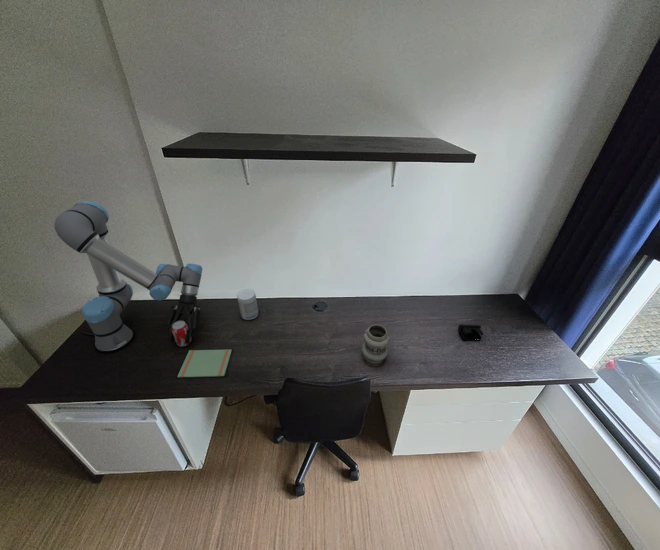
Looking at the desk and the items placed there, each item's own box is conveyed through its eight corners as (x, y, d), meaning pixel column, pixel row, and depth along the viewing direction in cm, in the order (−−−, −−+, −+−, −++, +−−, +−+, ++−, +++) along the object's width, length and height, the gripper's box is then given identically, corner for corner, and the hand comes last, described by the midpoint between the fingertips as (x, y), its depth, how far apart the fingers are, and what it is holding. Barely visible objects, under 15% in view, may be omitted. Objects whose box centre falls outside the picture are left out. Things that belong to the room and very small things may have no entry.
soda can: (188, 348, 140) (182, 330, 133) (174, 347, 140) (167, 329, 133) (194, 337, 146) (189, 319, 139) (180, 337, 146) (174, 319, 139)
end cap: (474, 331, 156) (478, 322, 152) (480, 341, 150) (484, 331, 146) (456, 331, 155) (459, 321, 152) (461, 341, 150) (465, 331, 146)
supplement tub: (261, 311, 164) (258, 290, 156) (253, 322, 156) (250, 301, 148) (246, 308, 166) (242, 287, 158) (237, 318, 158) (233, 297, 150)
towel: (177, 377, 126) (177, 376, 126) (189, 351, 139) (189, 350, 138) (224, 376, 127) (223, 375, 127) (232, 350, 140) (231, 349, 140)
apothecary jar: (355, 355, 140) (358, 328, 130) (373, 344, 146) (378, 317, 136) (372, 372, 132) (377, 344, 122) (391, 360, 138) (397, 333, 128)
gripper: (211, 298, 145) (202, 344, 141) (174, 294, 147) (164, 340, 143) (204, 296, 138) (194, 345, 134) (165, 291, 140) (154, 340, 135)
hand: (179, 342), depth 138 cm, fingers closed on soda can, 7 cm apart
